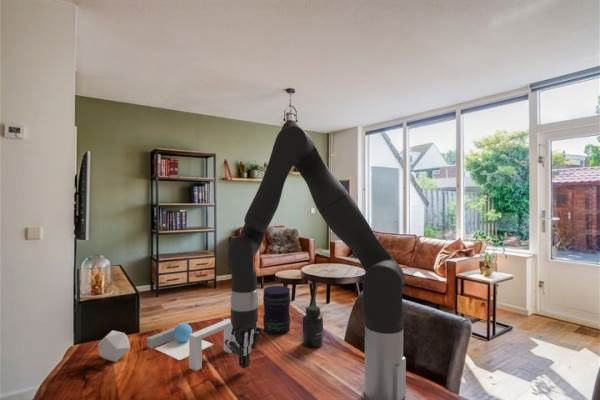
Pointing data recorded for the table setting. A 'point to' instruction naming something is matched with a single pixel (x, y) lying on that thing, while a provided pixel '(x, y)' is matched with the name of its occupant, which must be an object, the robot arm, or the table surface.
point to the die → (113, 346)
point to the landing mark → (179, 349)
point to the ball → (182, 332)
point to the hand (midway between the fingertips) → (244, 366)
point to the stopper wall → (160, 338)
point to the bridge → (196, 337)
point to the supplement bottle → (312, 327)
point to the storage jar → (276, 310)
